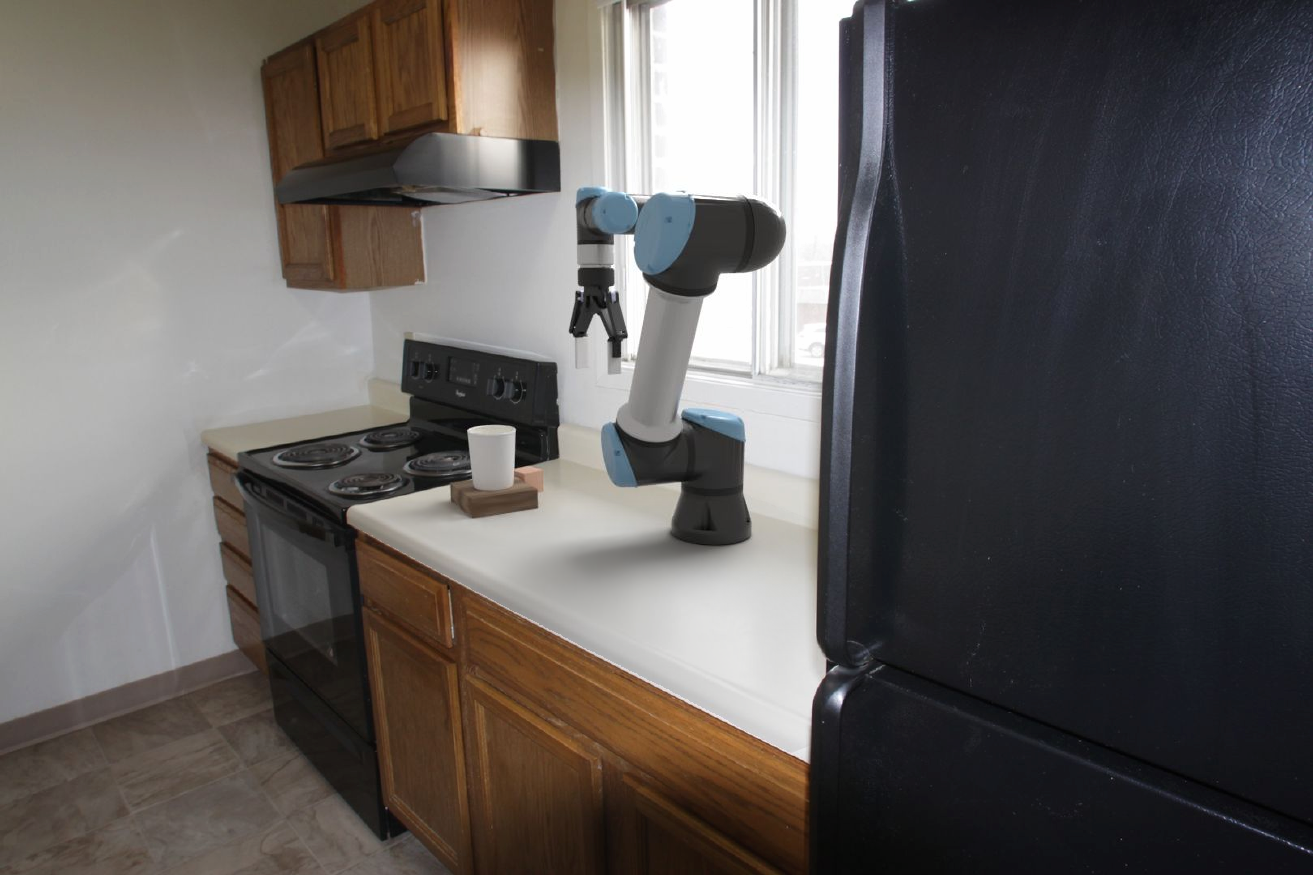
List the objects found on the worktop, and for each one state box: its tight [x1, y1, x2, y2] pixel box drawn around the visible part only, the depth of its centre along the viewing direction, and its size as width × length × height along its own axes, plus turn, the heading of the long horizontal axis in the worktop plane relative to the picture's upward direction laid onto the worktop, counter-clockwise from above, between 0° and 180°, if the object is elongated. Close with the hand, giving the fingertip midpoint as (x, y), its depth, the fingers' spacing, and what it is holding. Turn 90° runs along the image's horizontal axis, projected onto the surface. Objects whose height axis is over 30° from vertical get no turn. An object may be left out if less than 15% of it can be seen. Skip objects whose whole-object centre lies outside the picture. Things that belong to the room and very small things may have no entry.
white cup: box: [466, 424, 517, 491], centre depth 170 cm, size 10×10×12 cm
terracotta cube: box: [514, 465, 544, 494], centre depth 182 cm, size 5×5×5 cm
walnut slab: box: [449, 476, 539, 519], centre depth 172 cm, size 14×14×4 cm
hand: (597, 371), depth 171 cm, fingers open, 13 cm apart
